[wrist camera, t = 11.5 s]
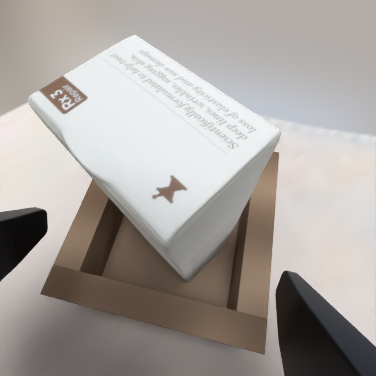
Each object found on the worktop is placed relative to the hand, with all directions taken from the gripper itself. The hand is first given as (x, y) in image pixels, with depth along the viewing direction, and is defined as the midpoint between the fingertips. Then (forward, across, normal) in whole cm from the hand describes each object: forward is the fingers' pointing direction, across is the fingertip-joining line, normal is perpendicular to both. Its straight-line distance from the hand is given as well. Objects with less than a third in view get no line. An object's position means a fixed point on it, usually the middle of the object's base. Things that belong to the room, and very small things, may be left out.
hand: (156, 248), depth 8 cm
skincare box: (+8, 0, +4) cm, 9 cm away
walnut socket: (+8, 0, +4) cm, 9 cm away
